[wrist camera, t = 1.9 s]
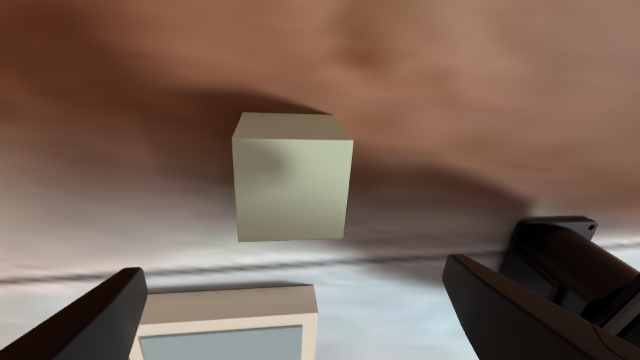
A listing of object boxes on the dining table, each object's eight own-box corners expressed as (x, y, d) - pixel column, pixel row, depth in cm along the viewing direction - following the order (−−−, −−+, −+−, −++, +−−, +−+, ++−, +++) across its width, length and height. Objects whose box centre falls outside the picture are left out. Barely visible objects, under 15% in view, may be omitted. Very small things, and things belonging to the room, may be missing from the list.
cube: (332, 114, 17) (353, 140, 13) (326, 192, 19) (343, 238, 15) (243, 112, 17) (231, 138, 12) (246, 193, 19) (238, 242, 14)
